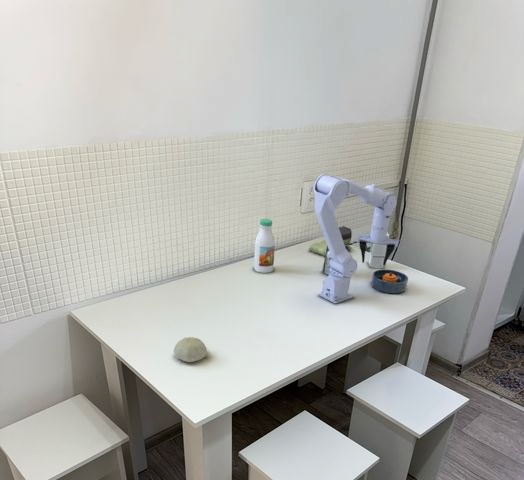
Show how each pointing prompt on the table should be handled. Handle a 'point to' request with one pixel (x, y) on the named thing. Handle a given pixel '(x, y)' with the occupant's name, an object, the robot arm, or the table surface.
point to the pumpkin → (389, 278)
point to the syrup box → (377, 255)
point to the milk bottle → (264, 248)
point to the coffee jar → (346, 237)
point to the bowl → (389, 286)
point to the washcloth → (320, 247)
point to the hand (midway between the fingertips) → (373, 263)
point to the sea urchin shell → (190, 349)
